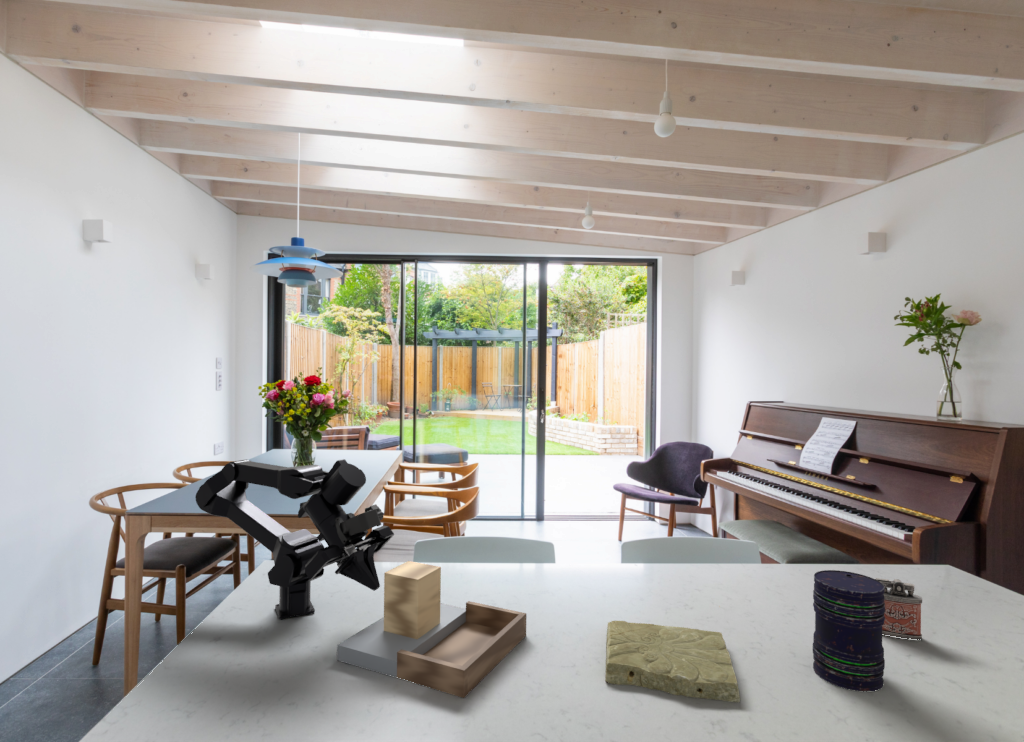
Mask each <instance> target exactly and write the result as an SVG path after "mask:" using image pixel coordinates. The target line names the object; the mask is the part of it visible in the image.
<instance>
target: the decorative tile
mask: <svg viewBox="0 0 1024 742" xmlns="http://www.w3.org/2000/svg"><path fill="white" fill-rule="evenodd" d="M606 629H607V630H606V642H605V644H606V646H605V650H606V651H605V653H606V654H605V673H604V674H605V676H604V677H605V679H604V681H605V682H607V683H608V684H611V685H618V686H621V685H622V686H636V687H642V688H645V689H649V690H655V691H656V690H657V691H662V692H664V693H668V694H670V695H672V696H673V695H674V696H684V697H686V698H695V699H707V700H716V701H719V700H720V701H724V702H732V703H740V701H741V700H740V699H741V698H740V689H739V686H738V685H739V684H738V679H737V677H736V673H735V670H734V667H733V663H732V659H731V655H730V652H729V651H728V648H727V645H726V642H725V639H724V637H723V633H722V632H719V631H713V630H712V631H711V630H704V629H698V628H690V627H684V626H683V627H682V626H681V627H680V626H673V625H672V626H671V625H660V624H654V623H641V622H640V623H638V622H637V623H636V622H628V621H625V620H611V621H609V622H607V628H606Z"/></svg>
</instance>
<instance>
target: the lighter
mask: <svg viewBox="0 0 1024 742" xmlns="http://www.w3.org/2000/svg"><path fill="white" fill-rule="evenodd" d="M874 579H875V580H878V581H879V582H881V583H882V584H883V585H884V587H885V592H884V594H883V595H884V602H885V613H884V616H885V620H884V624H883V625H882V634H884V635H890V636H896V637H901V638H907V639H909V638H911V639H917V640H918V639H919V640H920V639H922V640H923V634H922V603H923V597H922V596H920V595H917V594H914V593H915V584H913V583H909V582H908V583H907V582H902V580H900V579H897V578H896V579H893V580H890V579H886V578H879V577H875V578H874ZM888 589H889V590H888ZM906 591H907V592H906Z"/></svg>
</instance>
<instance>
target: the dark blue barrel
mask: <svg viewBox="0 0 1024 742" xmlns="http://www.w3.org/2000/svg"><path fill="white" fill-rule="evenodd" d="M875 579H876V578H873V577H871V576H868V575H865V574H861V573H857V572H856V573H855V572H851V571H847V570H846V571H845V570H835V569H832V570H831V569H830V570H829V569H827V570H820V571H816V572H814V575H813V581H814V583H813V591H812V593H813V594H812V599H813V602H812V603H813V604H812V607H813V610H814V612H815V613H814V614H815V616H814V617H815V619H814V625H815V626H814V633H813V642H812V654H813V657H812V658H813V664H812V668H813V671H814V673H815V674H816V675H817V676H818V677H820V678H821V679H822V680H823V679H824V680H823V681H825V682H827V683H829V684H831V685H833V686H835V687H838V688H841V687H842V689H844V688H845V690H848V689H850V690H849V691H852V690H855V691H854V692H859V691H863V692H862V693H868V692H867V691H874V692H876V691H875V690H878V689H880V690H881V688H882V689H883V687H884V685H883V684H884V683H885V682H884V673H885V672H884V671H885V665H886V664H885V663H886V662H885V661H886V660H885V658H884V657H885V649H884V646H883V636H882V625H883V624H884V620H885V616H884V613H885V602H884V595H883V594H884V592H885V587H884V585H883V584H882V583H881V582H879V581H878V580H875ZM864 691H866V692H864ZM878 691H879V690H878Z"/></svg>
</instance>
